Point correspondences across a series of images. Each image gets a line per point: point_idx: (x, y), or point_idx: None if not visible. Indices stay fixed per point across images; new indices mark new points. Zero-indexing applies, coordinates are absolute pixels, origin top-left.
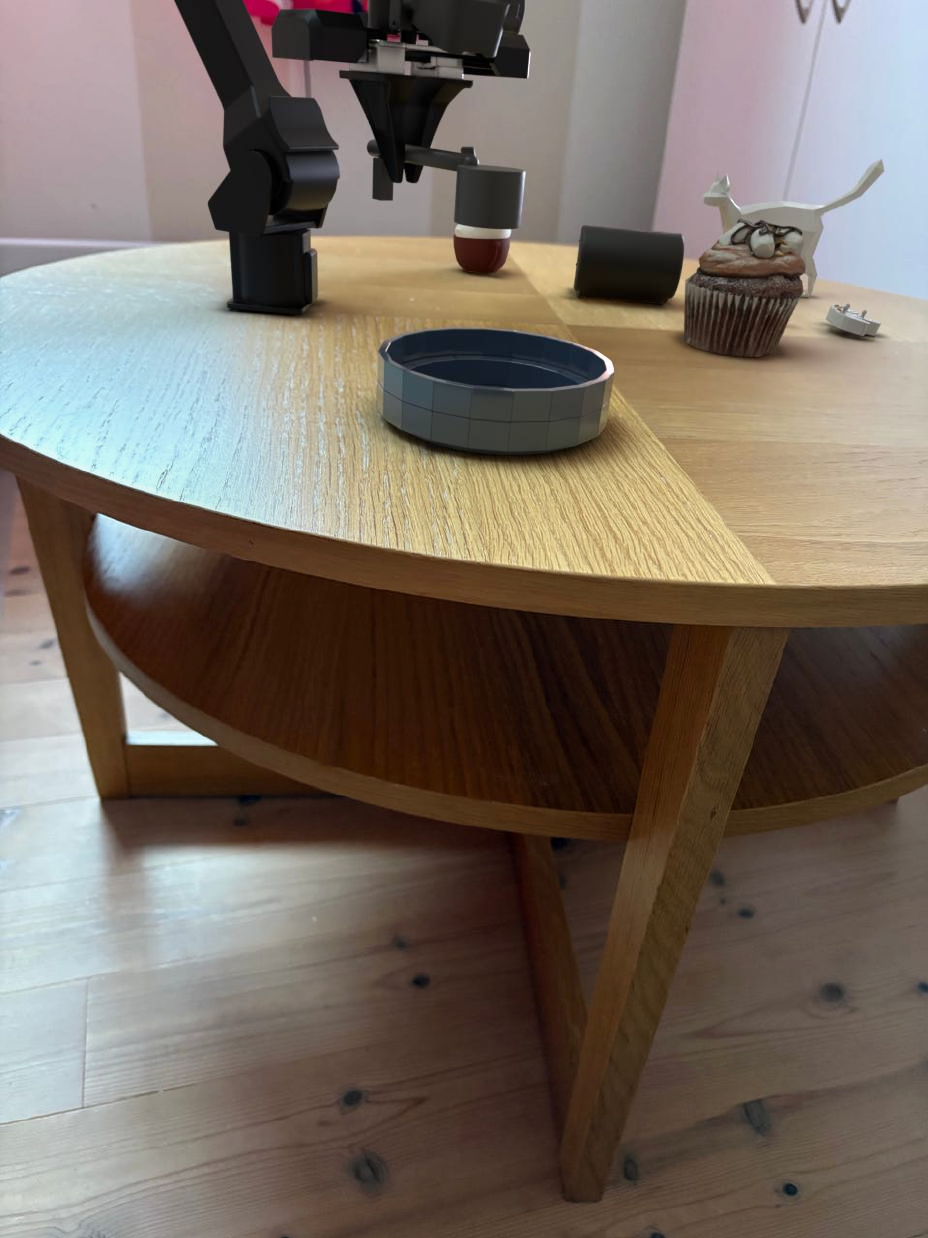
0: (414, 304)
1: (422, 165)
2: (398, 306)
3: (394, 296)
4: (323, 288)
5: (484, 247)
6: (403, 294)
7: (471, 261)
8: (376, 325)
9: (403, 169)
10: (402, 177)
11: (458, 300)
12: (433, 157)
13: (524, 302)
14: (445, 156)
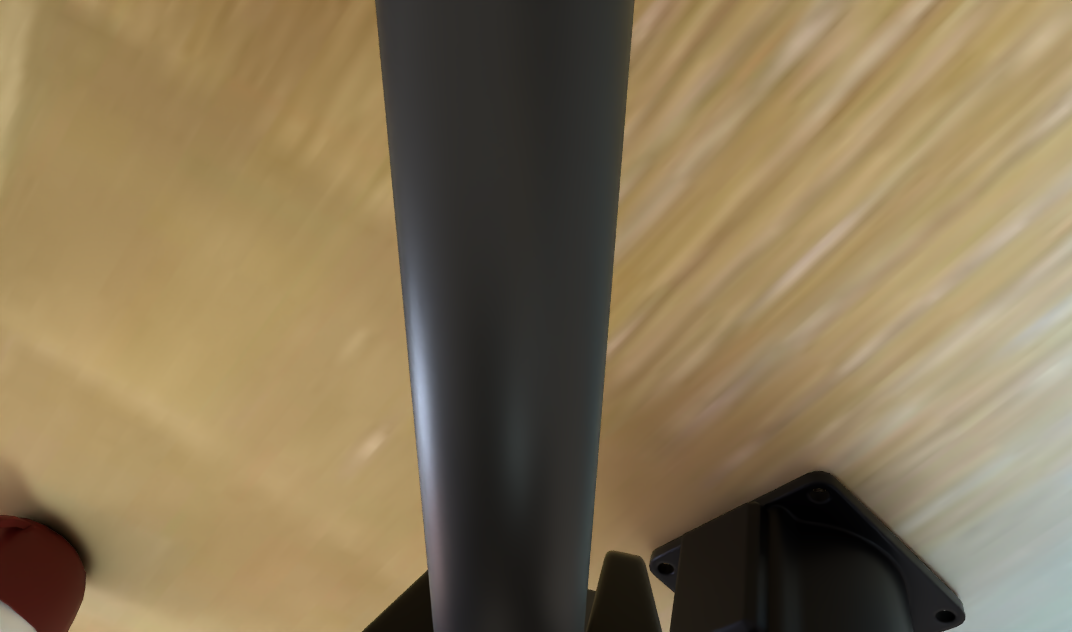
0: (395, 407)
1: (424, 588)
2: None
3: (399, 489)
4: None
5: (2, 570)
6: (362, 492)
7: (59, 561)
8: (674, 287)
9: (604, 603)
10: (609, 567)
11: (243, 380)
12: (601, 369)
13: (57, 274)
14: (596, 172)
